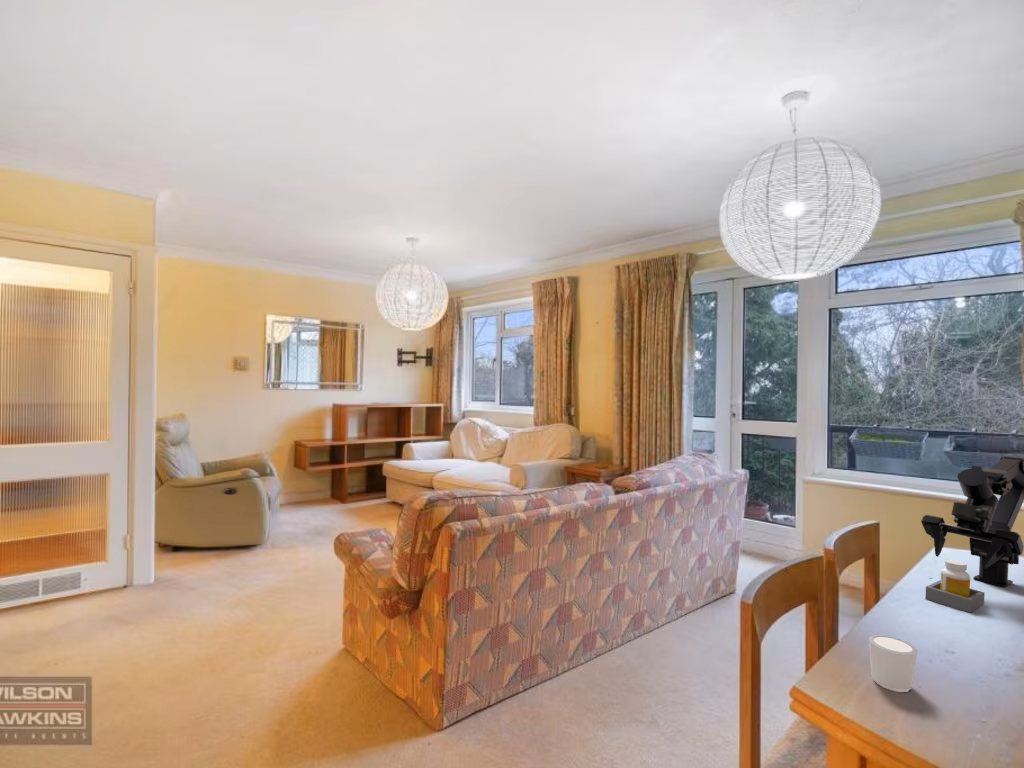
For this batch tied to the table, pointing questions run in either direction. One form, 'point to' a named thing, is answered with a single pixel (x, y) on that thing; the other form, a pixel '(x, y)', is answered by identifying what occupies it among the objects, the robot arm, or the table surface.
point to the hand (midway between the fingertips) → (959, 561)
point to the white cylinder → (892, 661)
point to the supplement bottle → (955, 578)
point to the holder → (955, 598)
